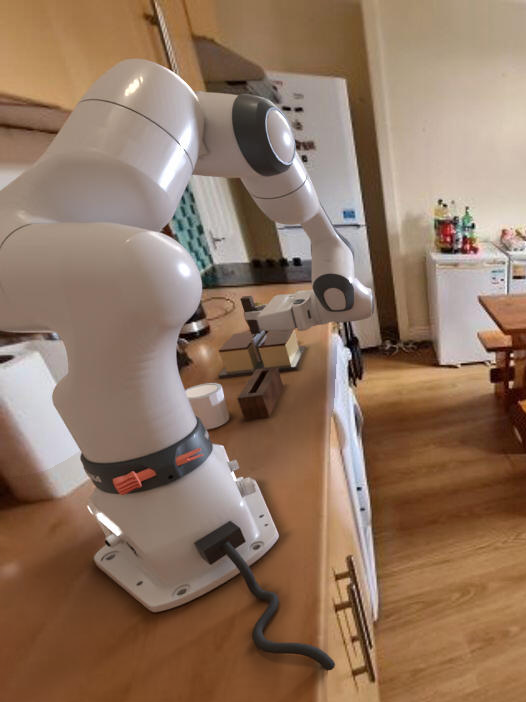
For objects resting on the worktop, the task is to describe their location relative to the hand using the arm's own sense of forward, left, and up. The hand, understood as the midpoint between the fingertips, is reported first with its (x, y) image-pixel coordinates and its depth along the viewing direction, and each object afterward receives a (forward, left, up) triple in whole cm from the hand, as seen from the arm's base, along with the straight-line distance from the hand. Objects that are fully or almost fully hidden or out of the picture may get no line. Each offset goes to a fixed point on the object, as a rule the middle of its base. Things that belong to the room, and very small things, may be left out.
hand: (246, 313), depth 102 cm
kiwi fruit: (+27, -11, -13) cm, 32 cm away
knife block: (-23, +9, -13) cm, 28 cm away
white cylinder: (-23, +19, -13) cm, 33 cm away
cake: (-1, -1, -13) cm, 13 cm away
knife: (-1, -1, -11) cm, 11 cm away
